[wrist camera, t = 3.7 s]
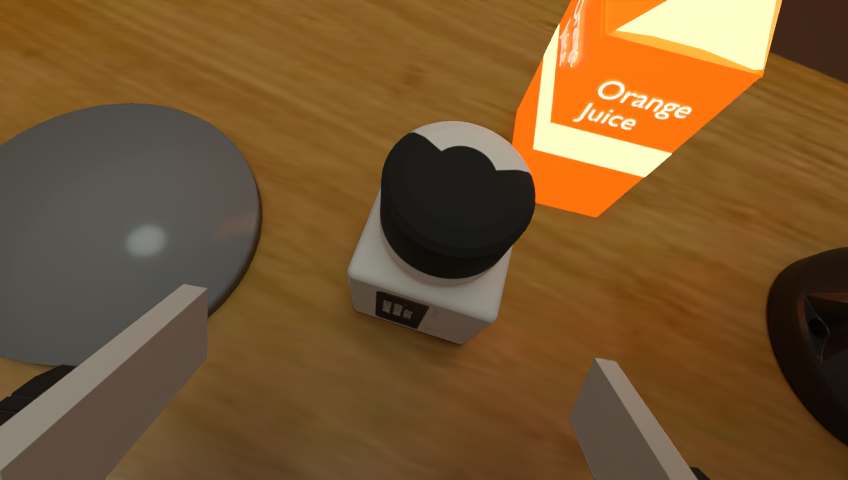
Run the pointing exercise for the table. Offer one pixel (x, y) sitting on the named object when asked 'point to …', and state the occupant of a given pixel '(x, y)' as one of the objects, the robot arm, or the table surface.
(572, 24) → the orange juice
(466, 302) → the container
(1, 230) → the slate plate
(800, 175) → the table surface
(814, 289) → the robot arm
